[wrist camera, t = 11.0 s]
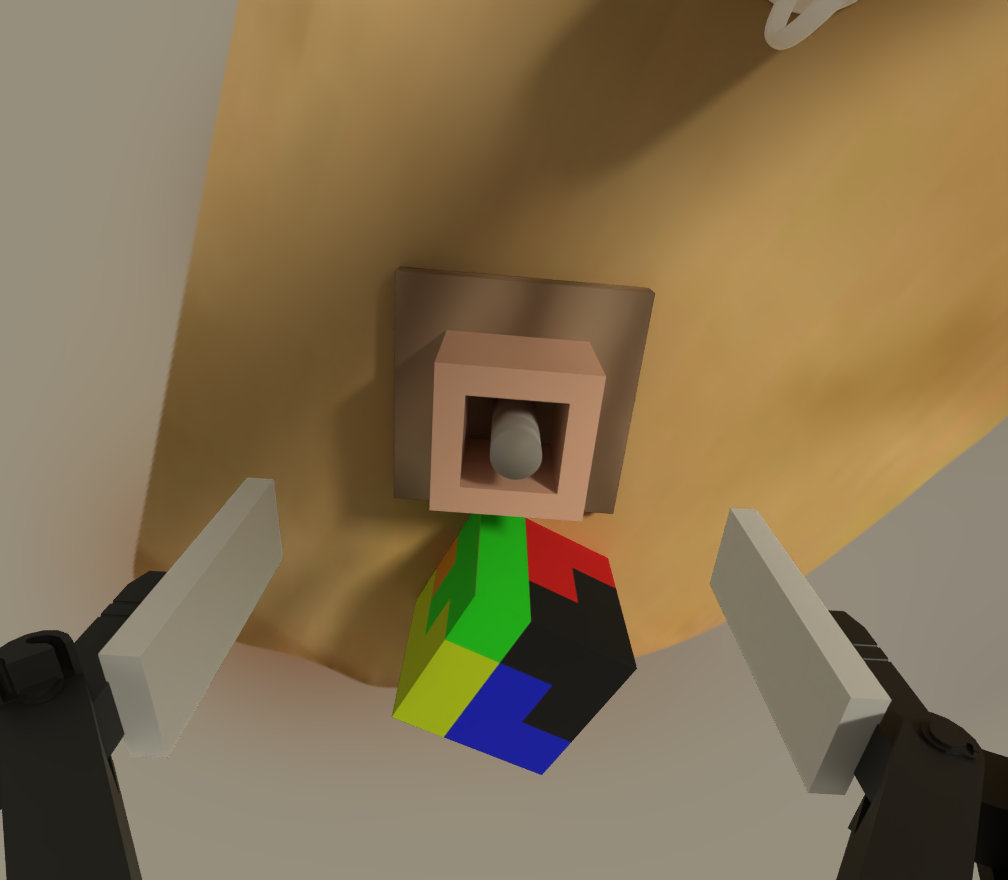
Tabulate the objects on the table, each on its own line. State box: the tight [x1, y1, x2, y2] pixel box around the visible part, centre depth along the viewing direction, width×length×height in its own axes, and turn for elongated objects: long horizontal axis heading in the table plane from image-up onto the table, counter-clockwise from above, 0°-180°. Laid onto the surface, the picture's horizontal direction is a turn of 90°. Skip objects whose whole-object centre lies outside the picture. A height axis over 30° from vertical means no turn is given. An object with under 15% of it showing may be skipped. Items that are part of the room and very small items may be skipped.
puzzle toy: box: [392, 513, 637, 775], centre depth 37 cm, size 10×10×10 cm
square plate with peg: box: [394, 267, 655, 514], centre depth 32 cm, size 14×14×8 cm
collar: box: [429, 330, 606, 521], centre depth 32 cm, size 8×8×6 cm
